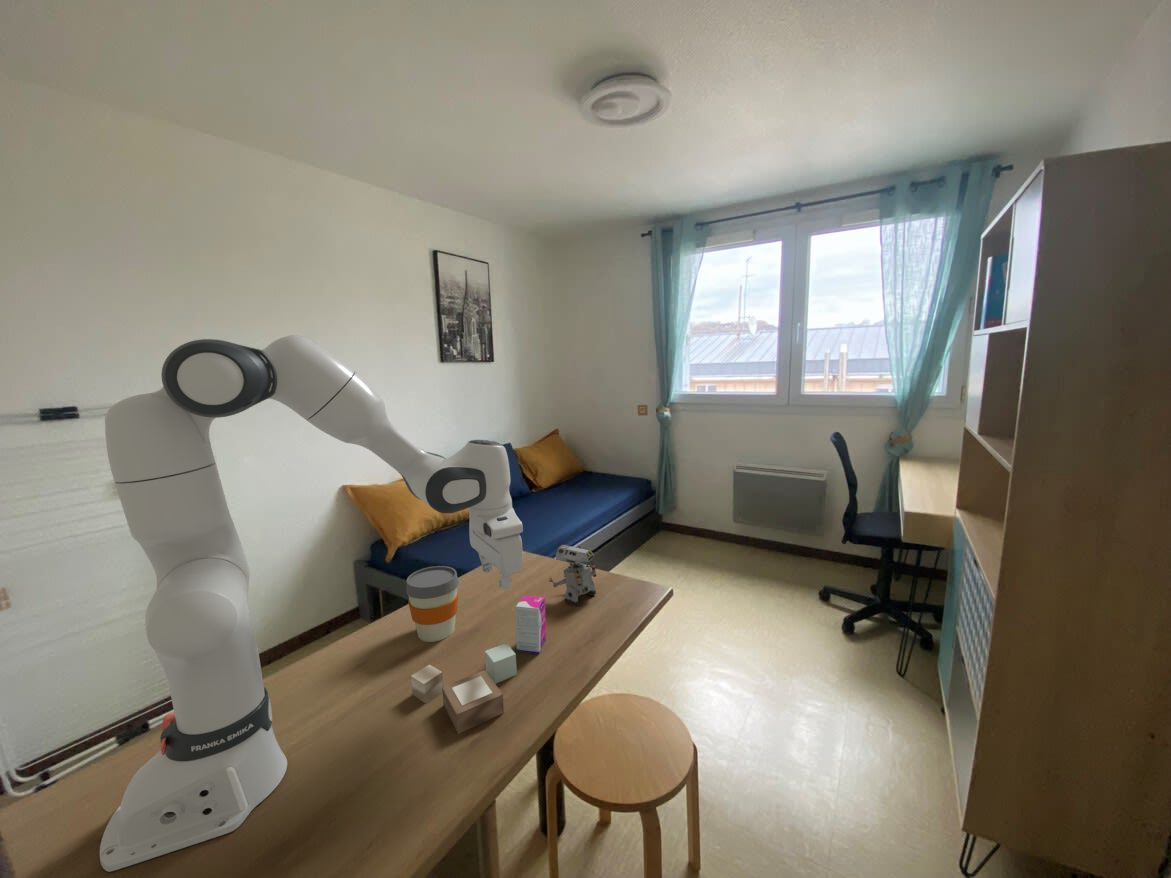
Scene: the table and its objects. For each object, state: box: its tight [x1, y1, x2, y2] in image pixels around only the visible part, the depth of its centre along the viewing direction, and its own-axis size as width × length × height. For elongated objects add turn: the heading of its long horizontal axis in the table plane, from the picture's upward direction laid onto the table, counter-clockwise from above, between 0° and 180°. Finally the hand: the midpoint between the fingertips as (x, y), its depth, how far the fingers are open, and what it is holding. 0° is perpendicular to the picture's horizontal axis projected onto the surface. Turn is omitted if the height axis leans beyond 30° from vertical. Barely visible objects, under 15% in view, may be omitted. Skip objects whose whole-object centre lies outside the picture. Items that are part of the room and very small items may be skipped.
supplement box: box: [515, 595, 547, 655], centre depth 111 cm, size 6×6×12 cm
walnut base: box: [442, 669, 505, 735], centre depth 91 cm, size 9×9×4 cm
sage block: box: [484, 642, 518, 685], centre depth 102 cm, size 5×5×5 cm
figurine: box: [548, 544, 597, 607], centre depth 134 cm, size 9×12×15 cm
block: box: [410, 664, 444, 704], centre depth 96 cm, size 4×4×4 cm
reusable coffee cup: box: [406, 565, 460, 643], centre depth 118 cm, size 13×13×15 cm
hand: (495, 579), depth 99 cm, fingers open, 8 cm apart
